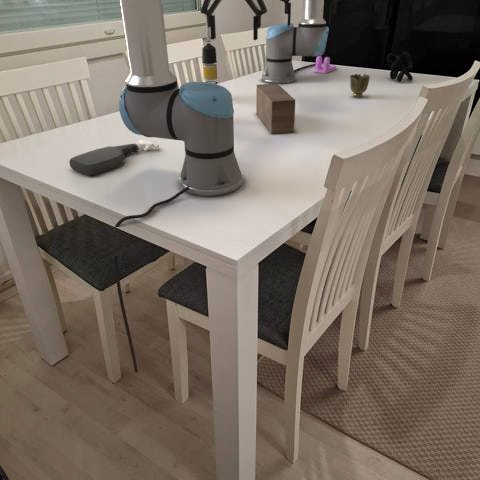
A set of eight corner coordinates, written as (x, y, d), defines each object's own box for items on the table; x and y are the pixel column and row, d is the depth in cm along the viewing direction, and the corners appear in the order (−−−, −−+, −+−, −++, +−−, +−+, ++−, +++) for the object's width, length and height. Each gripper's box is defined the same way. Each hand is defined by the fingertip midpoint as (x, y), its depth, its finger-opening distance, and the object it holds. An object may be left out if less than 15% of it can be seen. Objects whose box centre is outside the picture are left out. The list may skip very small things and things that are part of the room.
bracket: (325, 73, 215) (326, 57, 211) (315, 71, 218) (316, 56, 214) (337, 68, 224) (338, 53, 220) (327, 67, 227) (328, 52, 223)
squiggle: (400, 92, 202) (376, 71, 205) (417, 76, 202) (392, 56, 205) (405, 81, 191) (380, 59, 194) (423, 64, 191) (397, 42, 194)
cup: (345, 97, 176) (348, 76, 172) (351, 93, 181) (353, 73, 177) (364, 99, 173) (367, 78, 169) (369, 95, 178) (372, 74, 174)
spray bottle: (67, 168, 120) (139, 144, 136) (91, 178, 114) (163, 151, 130) (65, 157, 118) (137, 134, 134) (89, 167, 112) (162, 142, 128)
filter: (220, 99, 177) (217, 15, 161) (206, 100, 176) (202, 16, 160) (215, 96, 182) (212, 14, 166) (202, 97, 180) (197, 14, 164)
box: (293, 132, 142) (295, 99, 137) (271, 134, 141) (272, 101, 136) (276, 112, 161) (277, 83, 156) (256, 114, 160) (256, 84, 155)
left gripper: (277, -43, 128) (275, 38, 139) (195, -41, 133) (200, 36, 145) (272, -43, 122) (271, 41, 133) (186, -41, 127) (192, 40, 138)
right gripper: (272, -51, 135) (270, 26, 147) (356, -53, 132) (348, 26, 143) (274, -51, 142) (273, 23, 153) (354, -53, 138) (347, 23, 149)
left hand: (234, 39), depth 139 cm, fingers open, 13 cm apart
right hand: (309, 25), depth 148 cm, fingers open, 13 cm apart
